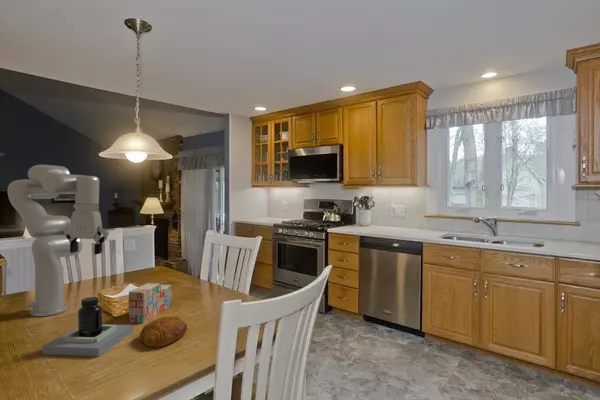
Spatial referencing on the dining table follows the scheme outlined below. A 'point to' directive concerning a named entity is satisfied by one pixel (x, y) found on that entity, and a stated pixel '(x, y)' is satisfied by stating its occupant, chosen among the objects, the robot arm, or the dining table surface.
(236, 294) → the dining table surface
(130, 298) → the stack of blocks
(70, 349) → the base plate
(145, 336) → the croissant
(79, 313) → the supplement bottle
